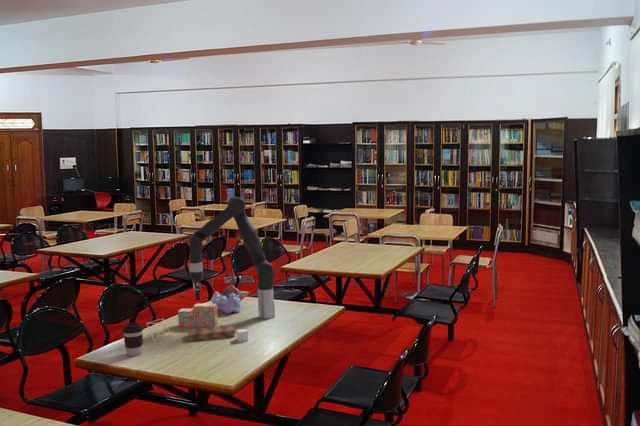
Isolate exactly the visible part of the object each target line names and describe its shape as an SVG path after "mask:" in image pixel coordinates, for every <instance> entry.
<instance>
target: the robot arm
mask: <svg viewBox="0 0 640 426" xmlns="http://www.w3.org/2000/svg"><path fill="white" fill-rule="evenodd" d="M245 208H246V202H245V200H244V199H243V198H241V197H239V196H232V197H230V198H229V199H228V201H227V206H226V207H225V208H224V209H223V210H222V211H221V212H220V213H218V214H217V215H216V216H214V217H213V218H211V219H210V220H209V221H207V222H206V223H205V224H204V225H203V226H201V227H200V229H198V230H197V231H195V232H193V233H191V235H189V237H188V239H187V244H188V246H189V254H188V255H189V256H188V259H189V263H188V264H189V265H188V266H189V267H188V269H189V271H188V272H189V279H190V280H193V281H192V285H193V287H192V288H193V290H194V297H195V300H196V301H200V300H201V297H200V294H201V281H200V280H202V279H203V278H204V270H203V269H204V268H203V257H202V256H203V253H202V251H203V242H204V241H205V239H209V238H210V237H211V236H212V235H214V234H215V233H216V232H217V231H218V230H220V228H221V227H223V226H224V225H225V224H226V223H227V222H228V221H230V220H231V219H234V221H235V222H236V226H237V228H238V231H239V234H240V237H241V239H242V241H243V245H245V247H246V250H247V251H248V253H249V255H250V257H251V259H252V263H253V265H254V269H255V272H256V274H257V275H258V283H257V306H258V318H260V319H265V320H266V319H271V318H275V317H276V313H275V312H276V310H275V309H276V308H275V299H274V283H275V282H274V281H275V275H274V273H275V272H274V266H273V265H272V264H271V263H270V262H268V260H267V258H266V256H265V254H264V252H263V249H262V243H261V240H260V236H259V235H258V231H257V230H256V229H255V226H254V224H252V222H251V220H250V219H249V217H248V216H247V214H246V213H247V212H246V211H245Z"/></svg>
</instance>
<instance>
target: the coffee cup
mask: <svg viewBox="0 0 640 426" xmlns="http://www.w3.org/2000/svg"><path fill="white" fill-rule="evenodd" d="M121 329H122V331H121V332H122V333H123V339H124V341H123V342H124V347H125V351H126V355H127V356H128V357H136V356H140V355H142V353H143V343H144V341H143V340H144V339H143V338H144V337H143V335H144V334H143V331H144V325H142V324H141V323H139V322H128V323H126V324H125V326H124V327H123V328H121Z"/></svg>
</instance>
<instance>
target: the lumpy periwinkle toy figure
mask: <svg viewBox="0 0 640 426" xmlns="http://www.w3.org/2000/svg"><path fill="white" fill-rule="evenodd" d="M249 294H251V292H249V291H243V290H242V291H240V290H239V289H238V288H236V287H235V286H234V285H232V284H231V283H229V284H228V285H227V286H225V287H224V288H223V290H221V291H220V292H218V291H214V294H212V297H211V298H210V301H211V302H212V304H217V310H220V311H221V312H223V313H224V314H225V315H231V313H232V312H233V313H238V312H240V311H241V310H242V307H243V304H242V302H241V301H242V300H244V299H245V298H246V297H248V295H249Z"/></svg>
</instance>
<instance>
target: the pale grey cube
mask: <svg viewBox="0 0 640 426" xmlns="http://www.w3.org/2000/svg"><path fill="white" fill-rule="evenodd" d="M236 338H237V339H236V340H237V341H238V343H240V342H248V341H249V332H248V329H247V328H242V329H241V328H240V329H237V330H236Z"/></svg>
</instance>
